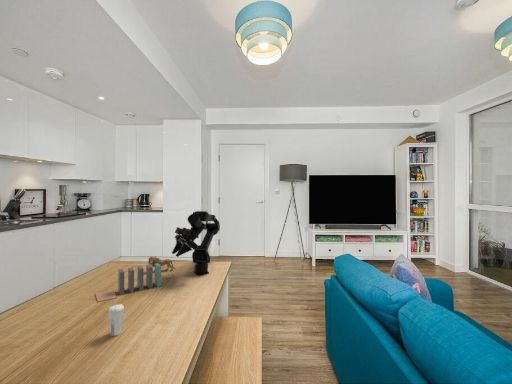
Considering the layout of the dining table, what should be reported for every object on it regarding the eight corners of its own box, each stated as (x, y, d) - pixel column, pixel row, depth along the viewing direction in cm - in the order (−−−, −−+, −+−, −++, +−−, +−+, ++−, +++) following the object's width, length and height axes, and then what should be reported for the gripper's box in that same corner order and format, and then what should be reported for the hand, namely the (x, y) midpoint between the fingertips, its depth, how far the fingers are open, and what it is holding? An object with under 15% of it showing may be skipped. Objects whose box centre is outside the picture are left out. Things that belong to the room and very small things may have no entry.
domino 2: (131, 288, 118) (131, 267, 118) (133, 292, 114) (134, 270, 114) (127, 289, 117) (128, 268, 117) (130, 292, 113) (130, 270, 113)
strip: (113, 290, 115) (113, 289, 115) (116, 298, 107) (116, 297, 107) (95, 294, 111) (95, 293, 111) (97, 302, 103) (97, 301, 103)
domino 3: (140, 286, 120) (141, 265, 120) (143, 290, 116) (143, 268, 116) (137, 287, 119) (137, 266, 119) (139, 290, 115) (139, 269, 115)
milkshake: (119, 327, 85) (119, 297, 85) (126, 332, 82) (126, 302, 81) (104, 332, 81) (104, 302, 81) (111, 339, 78) (111, 307, 78)
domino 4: (149, 284, 123) (149, 264, 122) (152, 288, 119) (152, 267, 118) (146, 285, 122) (146, 265, 121) (148, 288, 118) (149, 267, 118)
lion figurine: (148, 274, 138) (148, 258, 137) (147, 271, 142) (147, 255, 142) (176, 270, 145) (176, 255, 144) (174, 268, 149) (174, 253, 149)
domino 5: (157, 283, 125) (158, 263, 125) (160, 286, 121) (161, 265, 121) (154, 283, 124) (154, 263, 124) (157, 287, 120) (157, 266, 120)
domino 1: (122, 290, 115) (122, 269, 115) (124, 294, 111) (124, 271, 111) (118, 291, 114) (118, 269, 114) (120, 295, 110) (120, 272, 110)
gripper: (178, 219, 138) (157, 241, 131) (192, 223, 123) (169, 248, 116) (191, 232, 143) (172, 254, 136) (206, 237, 128) (185, 262, 121)
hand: (174, 254), depth 127 cm, fingers open, 6 cm apart
